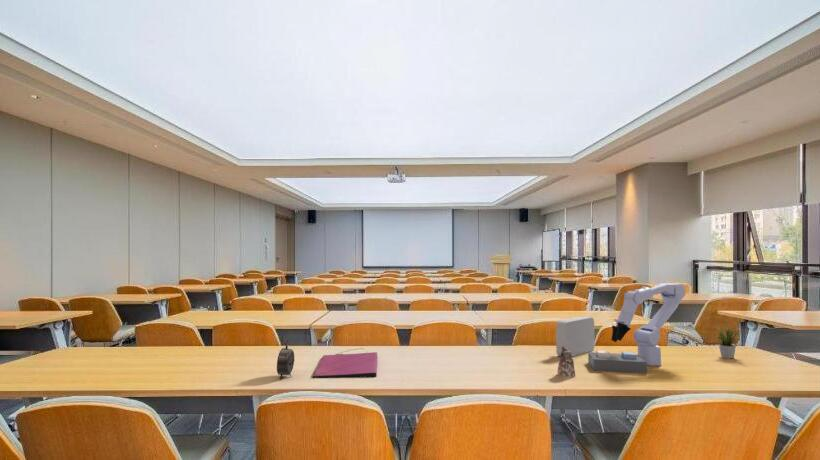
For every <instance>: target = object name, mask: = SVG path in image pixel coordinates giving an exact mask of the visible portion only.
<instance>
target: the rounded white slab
mask: <svg viewBox="0 0 820 460" xmlns="http://www.w3.org/2000/svg"><path fill="white" fill-rule="evenodd" d="M555 326H556V327H555V337H556V338H555V340H556V341H555V346H556V356H559V357H561V352H562V347H564V348H569V349H570V350H571V355H572V358H573V357H576V356H580V355H584V354H586V353H587V354H588V352H592V351H593V352H594V350H595V346H596V345H595V344H596V343H595V341H596V340H595V339H596V338H595V319H594V317H591V316H577V317H571V318H566V319H561V320H558V321H557V322H556V325H555Z"/></svg>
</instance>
